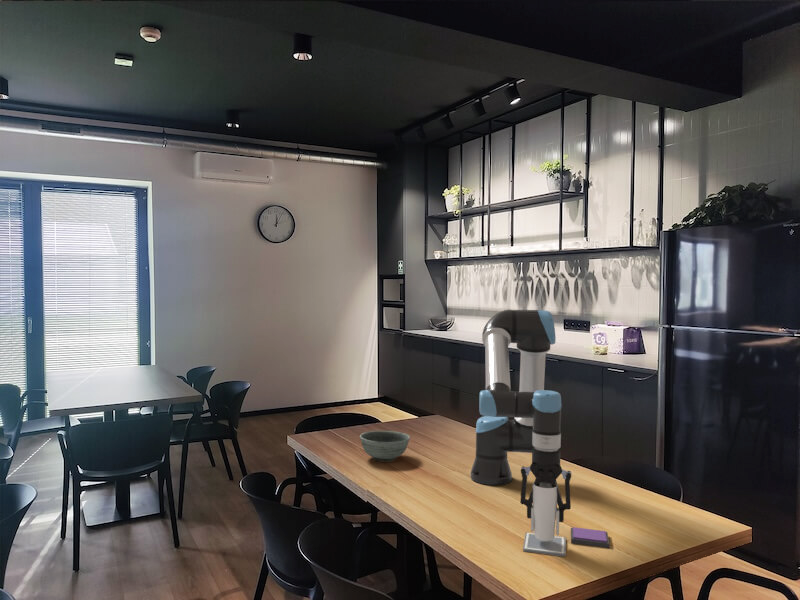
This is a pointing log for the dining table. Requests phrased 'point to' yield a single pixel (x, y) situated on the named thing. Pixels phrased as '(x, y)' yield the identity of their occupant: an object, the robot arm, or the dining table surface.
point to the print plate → (545, 545)
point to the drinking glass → (544, 510)
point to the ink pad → (589, 537)
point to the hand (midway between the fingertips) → (544, 531)
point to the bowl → (384, 444)
